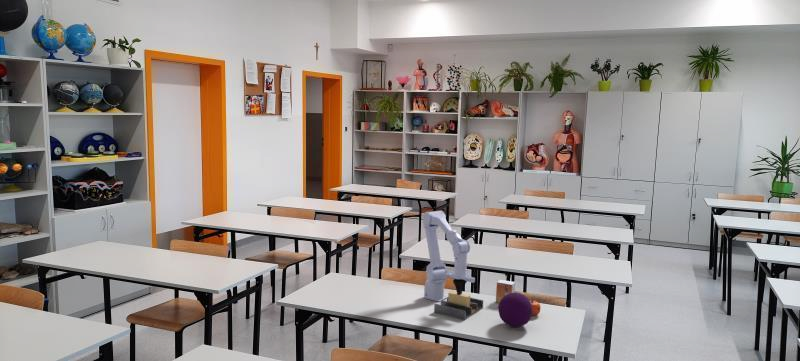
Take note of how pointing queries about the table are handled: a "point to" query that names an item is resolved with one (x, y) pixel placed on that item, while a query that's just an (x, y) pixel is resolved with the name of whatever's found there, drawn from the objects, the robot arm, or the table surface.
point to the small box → (504, 289)
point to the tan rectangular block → (459, 298)
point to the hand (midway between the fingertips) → (459, 294)
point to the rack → (458, 308)
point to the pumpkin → (535, 307)
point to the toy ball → (515, 309)
